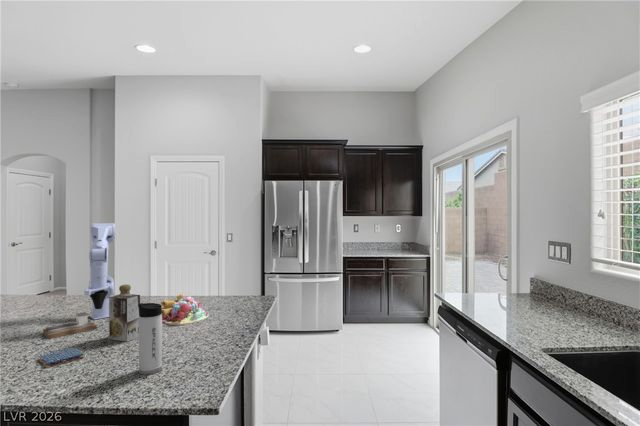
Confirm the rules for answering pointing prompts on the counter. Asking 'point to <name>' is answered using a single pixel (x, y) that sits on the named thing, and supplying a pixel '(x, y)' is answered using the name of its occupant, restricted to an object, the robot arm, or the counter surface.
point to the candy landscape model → (182, 311)
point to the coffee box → (124, 317)
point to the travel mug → (150, 338)
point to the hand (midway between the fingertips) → (98, 308)
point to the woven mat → (60, 357)
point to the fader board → (68, 329)
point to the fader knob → (81, 318)
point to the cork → (125, 289)
